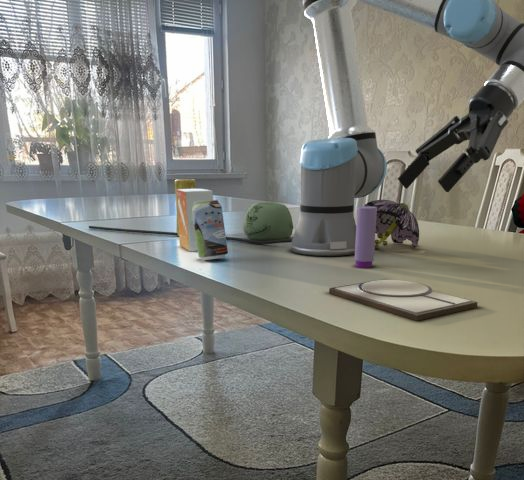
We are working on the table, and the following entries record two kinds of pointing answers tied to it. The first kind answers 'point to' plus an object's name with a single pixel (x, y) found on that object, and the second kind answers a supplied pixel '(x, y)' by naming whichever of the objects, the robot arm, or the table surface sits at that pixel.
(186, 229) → the small box
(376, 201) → the decorative flower
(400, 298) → the board
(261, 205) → the green rounded lump
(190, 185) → the vase
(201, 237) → the green printed package
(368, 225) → the cylinder
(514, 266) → the table surface
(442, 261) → the table surface
